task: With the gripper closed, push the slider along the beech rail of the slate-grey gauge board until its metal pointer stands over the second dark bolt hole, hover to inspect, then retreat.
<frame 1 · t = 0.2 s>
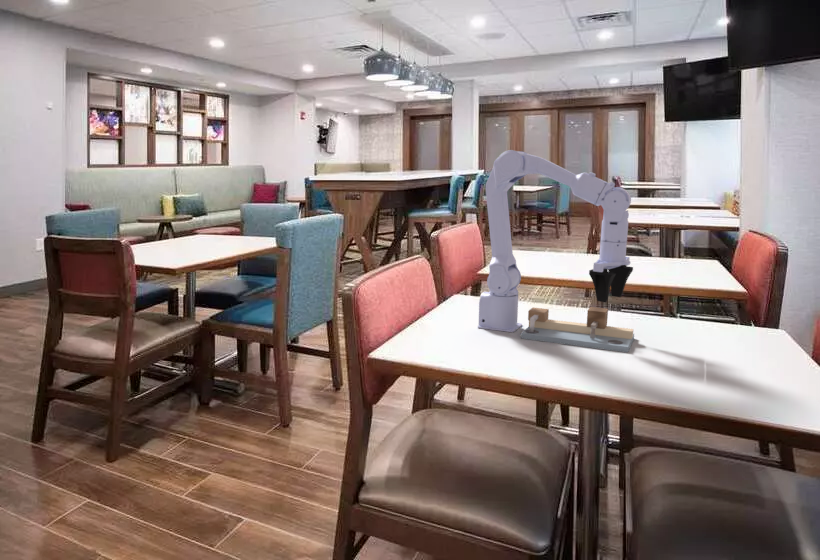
hand: (609, 298, 133), 10 cm above the table, fingers open, 7 cm apart
slider: (595, 322, 133), point 4 cm above the table, slide at 0.0 cm
gauge board: (577, 338, 136), on the table
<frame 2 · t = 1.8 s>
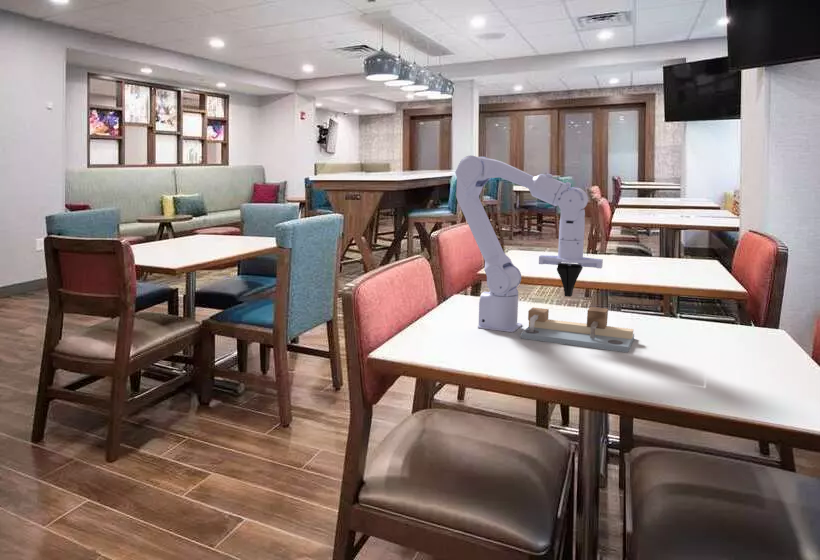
hand: (568, 295, 137), 10 cm above the table, fingers closed
nothing on the table moved.
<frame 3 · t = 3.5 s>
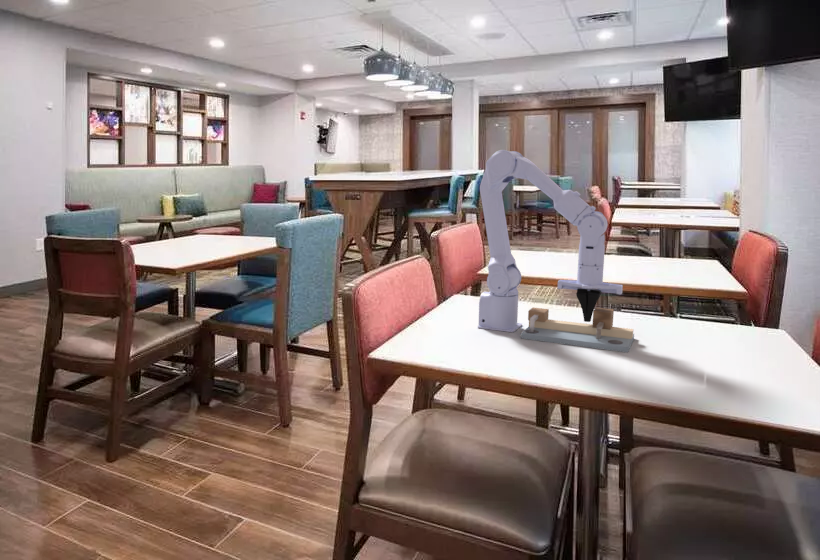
hand: (587, 320, 136), 4 cm above the table, fingers closed
slider: (601, 323, 133), point 4 cm above the table, slide at 1.3 cm, touching gripper
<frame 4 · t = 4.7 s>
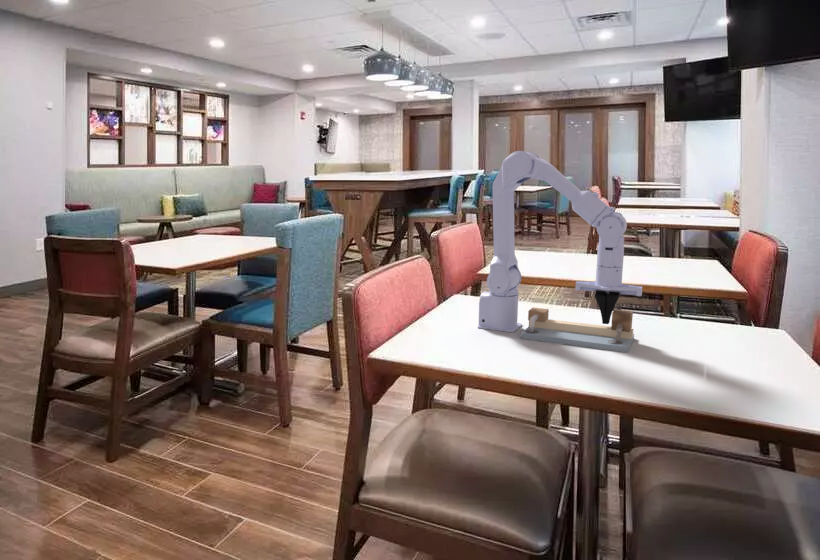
hand: (605, 323, 134), 4 cm above the table, fingers closed
slider: (620, 325, 131), point 4 cm above the table, slide at 5.5 cm, touching gripper
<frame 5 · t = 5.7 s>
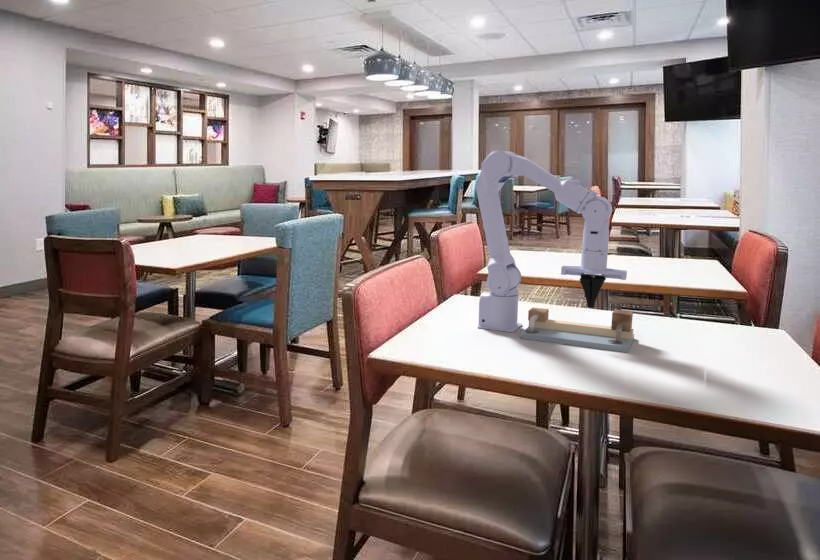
hand: (591, 306, 135), 7 cm above the table, fingers closed
slider: (620, 325, 131), point 4 cm above the table, slide at 5.5 cm
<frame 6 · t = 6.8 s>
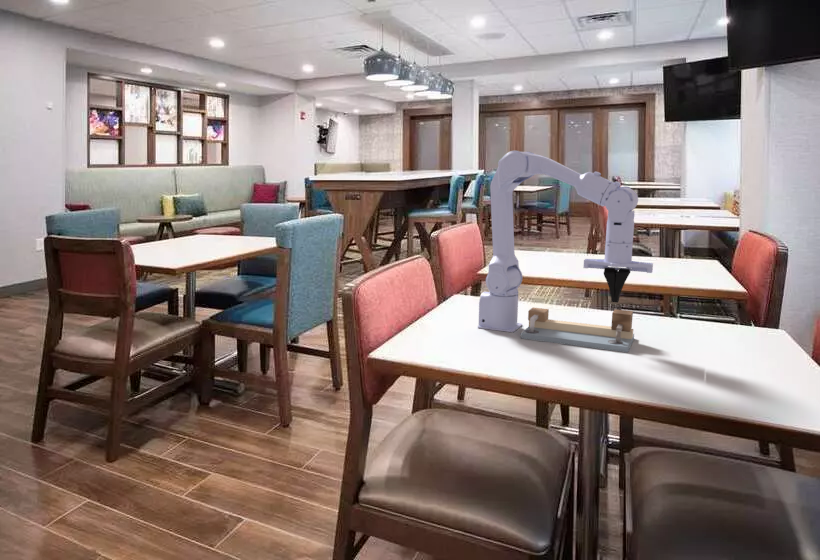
hand: (615, 301, 130), 10 cm above the table, fingers closed
nothing on the table moved.
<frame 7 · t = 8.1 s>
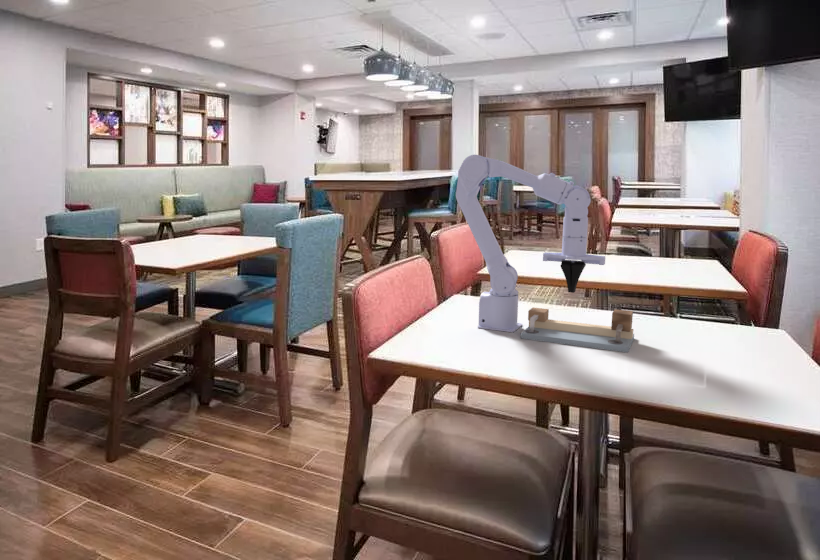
hand: (571, 291, 140), 10 cm above the table, fingers closed
nothing on the table moved.
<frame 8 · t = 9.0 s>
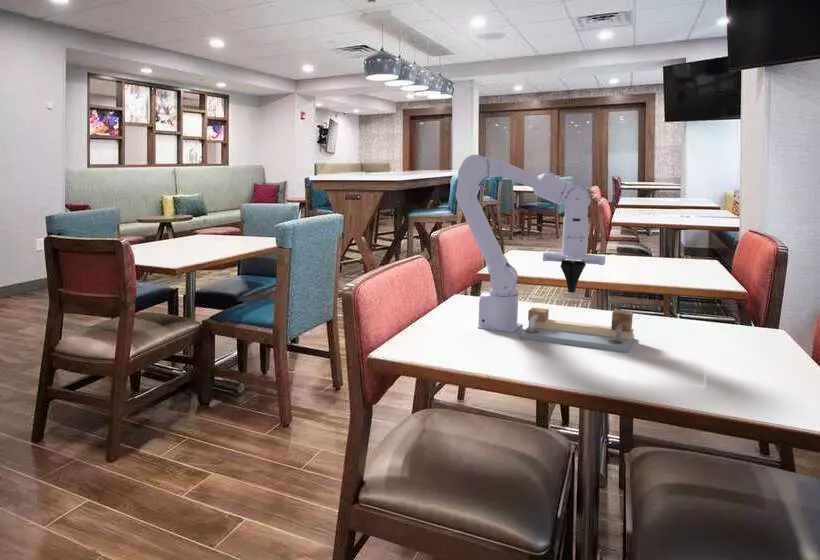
hand: (571, 291, 140), 10 cm above the table, fingers closed
nothing on the table moved.
at the end: slider slide at 5.5 cm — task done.
